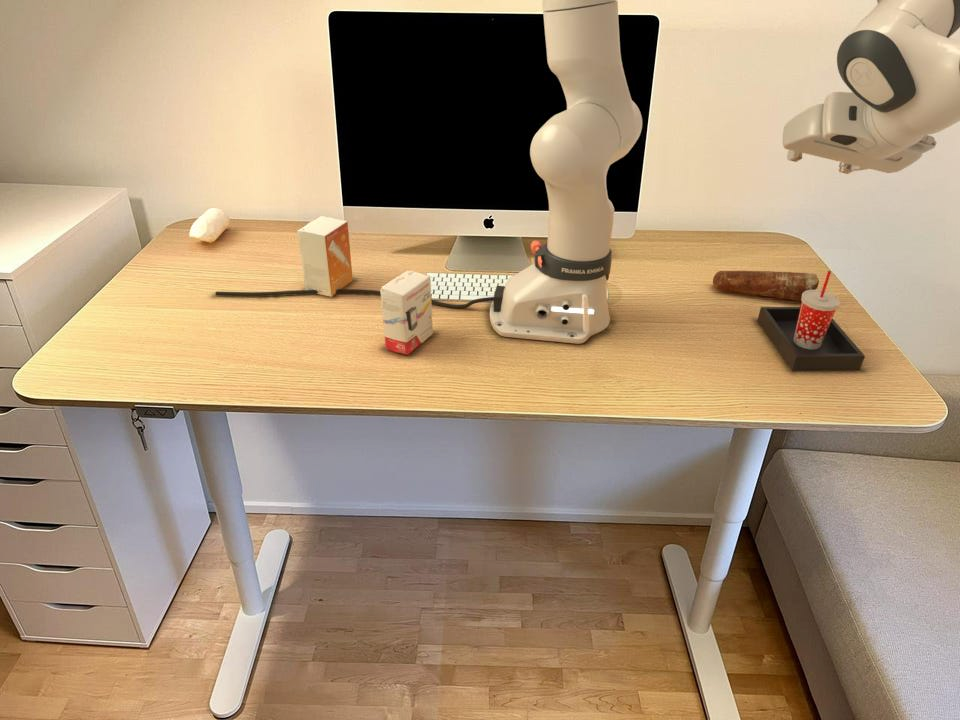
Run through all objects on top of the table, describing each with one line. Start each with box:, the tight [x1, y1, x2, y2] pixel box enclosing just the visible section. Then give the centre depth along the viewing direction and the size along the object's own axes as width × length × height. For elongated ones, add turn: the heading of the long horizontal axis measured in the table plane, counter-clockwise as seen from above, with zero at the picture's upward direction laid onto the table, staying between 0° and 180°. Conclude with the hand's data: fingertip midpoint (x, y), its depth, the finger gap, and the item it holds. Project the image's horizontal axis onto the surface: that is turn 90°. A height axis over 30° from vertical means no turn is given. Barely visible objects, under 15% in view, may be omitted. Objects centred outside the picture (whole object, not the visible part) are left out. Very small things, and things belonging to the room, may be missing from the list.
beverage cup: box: [794, 270, 841, 349], centre depth 122 cm, size 6×6×14 cm
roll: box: [189, 207, 231, 244], centre depth 158 cm, size 6×12×6 cm, turn 176°
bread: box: [712, 270, 820, 302], centre depth 141 cm, size 6×19×6 cm, turn 74°
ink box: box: [379, 269, 434, 356], centre depth 123 cm, size 9×5×12 cm, turn 150°
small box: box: [297, 215, 354, 298], centre depth 139 cm, size 8×6×13 cm
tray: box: [756, 306, 866, 372], centre depth 126 cm, size 12×17×3 cm
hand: (817, 162), depth 114 cm, fingers open, 8 cm apart
